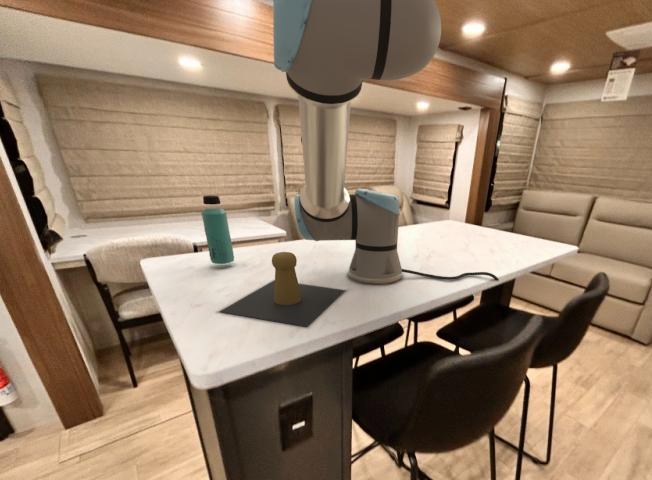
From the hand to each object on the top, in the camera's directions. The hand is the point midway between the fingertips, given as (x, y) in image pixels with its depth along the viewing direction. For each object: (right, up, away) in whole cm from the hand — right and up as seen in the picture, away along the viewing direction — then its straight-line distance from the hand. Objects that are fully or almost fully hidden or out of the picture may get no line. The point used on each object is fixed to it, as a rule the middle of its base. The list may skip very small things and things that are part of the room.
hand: (323, 172), depth 92 cm
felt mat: (-4, -38, -21) cm, 44 cm away
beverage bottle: (-30, -28, 0) cm, 41 cm away
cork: (-4, -38, -21) cm, 44 cm away
